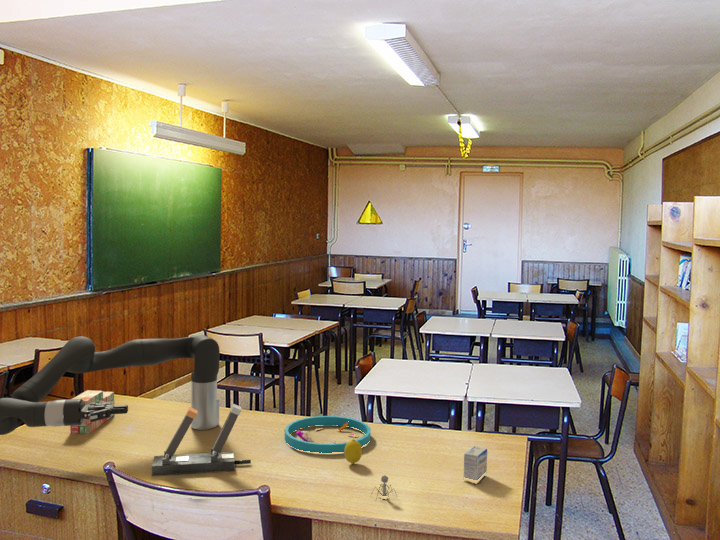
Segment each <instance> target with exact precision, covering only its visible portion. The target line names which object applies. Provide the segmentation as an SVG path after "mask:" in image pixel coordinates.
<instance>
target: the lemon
mask: <svg viewBox="0 0 720 540" xmlns="http://www.w3.org/2000/svg"><path fill="white" fill-rule="evenodd" d="M356 440H357V439H355V438H353V439H351V440H349V441H347V442H348V443H347V444H346V446H345V450H344V453H345V454H344V457H345V459H346V461H347V462H349V463H351V464H352V463H354V464H355V463H357V462H359V461H360V460H361V458H362V455H363V449H362V448H361V445H360V443H359V442H358V441H356Z"/></svg>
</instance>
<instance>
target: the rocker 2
mask: <svg viewBox="0 0 720 540" xmlns="http://www.w3.org/2000/svg"><path fill="white" fill-rule="evenodd" d="M242 411H243V410H242V407H241V406H240V405H237V404H235V403H232V406H231V407H230V411H229V413H228V415H227V417H226V419H225V421H224V423H223V426H222V428H221V429H220V431H219V434H218V435H217V438H216V440H215V442H214V444H213V446H212V448H213V453H212V455H216V452H218V453H221V452H223V449H224V446H225V445H226V442H227V440H228V437H230V436H229V435H230V434H231V432H232V430H233V428H234V425H235V423H236V421H237V419H238V417H239V416H240V415H241V412H242Z"/></svg>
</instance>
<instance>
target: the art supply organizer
mask: <svg viewBox="0 0 720 540" xmlns="http://www.w3.org/2000/svg"><path fill="white" fill-rule="evenodd" d="M348 421H349V422H348ZM315 425H338V426H337V427H339V426H342V427H339V428H337V430H338V431H339V432H342V431H343V430H344V429H345V428H346V426H349V427H354V428H357V429H359V430H361V431H362V432H364V433H365V434H366V435H363V436H362V437H360V438H358V439H355V440H356V441H358V442H359V443H360V445H361V447H362V446H363V445H365V444H367V443H368V442H369V441H370V442H371V431H372V429H371V428H370V426H369V425H368V424H366V423H365V422H364V421H361V420H358V419H356V418H350V417H347V416H339V415H319V416H318V415H317V416H309V417H308V416H307V417H305V418H299V419H296V420H294V421H292V422H290V423H289V424H287V425H286V426H285V429H284V442H285V441H286V442H285V444H286V443H288V444H289V445H290V446H292V447H294V448H296V449H299V450H303V451H310V452H319V453H321V452H322V453H332V452H344V450H345V446H346V444H347V443H348V442H349V441H346V442H339V443H337V441H336V440H335V441H334V440H333V441H329V443H319V442H315V440H313V439H312V437H310V436H309V435H308V432H309V430H298V429H300V428H304V427H308V426H315ZM315 427H316V426H315ZM308 428H309V427H308ZM304 429H305V428H304ZM295 430H298V431H296V433H295V434H296V435H297V437H299V438H300V439H299V438H296V437H294V436H293V435H292V434H293V433H292V432H293V431H295ZM341 430H342V431H341ZM291 433H292V434H291ZM306 433H307V434H306ZM290 434H291V435H290ZM348 434H351V435H354V434H356V433H354V432H349V433H348Z"/></svg>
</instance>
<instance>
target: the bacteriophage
mask: <svg viewBox="0 0 720 540" xmlns="http://www.w3.org/2000/svg"><path fill="white" fill-rule="evenodd" d="M380 481H381V482H382V483H381V484H380V485H379V488H377V487H375V489H376V490H377V491H378V492H377V494H376V499H375V500H377V499H378V496H379V493H380V496H381V495H382V496H388V497H389V498H390V496H389V494H390V493H392V492H395V496H396V497H398V495H397V492H396V490H395V489H394V488H392V485H391V484H389V486H388V484H387V483H388V481H389V477H388V476H387V475H382V476H381V479H380ZM375 489H372V492H371V494H373V492H374V490H375ZM379 490H380V491H379ZM388 490H390V491H388ZM393 490H394V491H393ZM381 491H382V493H381Z"/></svg>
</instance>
